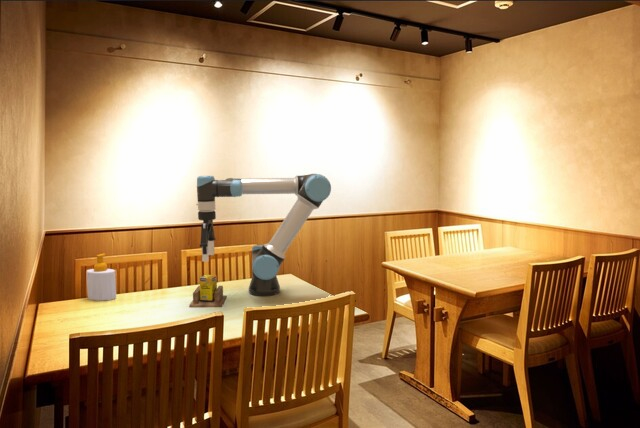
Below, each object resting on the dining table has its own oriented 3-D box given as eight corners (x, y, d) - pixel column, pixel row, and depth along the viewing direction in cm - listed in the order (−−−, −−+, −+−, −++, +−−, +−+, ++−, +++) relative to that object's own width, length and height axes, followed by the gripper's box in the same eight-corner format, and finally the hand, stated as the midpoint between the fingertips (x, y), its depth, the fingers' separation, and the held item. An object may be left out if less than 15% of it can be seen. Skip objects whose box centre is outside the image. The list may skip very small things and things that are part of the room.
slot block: (226, 297, 219) (226, 284, 218) (221, 306, 205) (221, 293, 204) (196, 297, 218) (195, 285, 217) (189, 307, 204) (189, 293, 204)
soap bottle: (120, 296, 219) (118, 253, 217) (109, 301, 211) (107, 257, 209) (94, 295, 221) (92, 252, 219) (83, 300, 213) (80, 256, 211)
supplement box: (212, 302, 208) (212, 278, 207) (199, 301, 209) (199, 277, 208) (217, 298, 214) (217, 275, 213) (205, 297, 215) (204, 274, 213)
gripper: (203, 207, 219) (205, 252, 221) (191, 214, 194) (193, 264, 197) (219, 207, 219) (221, 252, 222) (210, 214, 194) (211, 264, 197)
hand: (208, 258), depth 209 cm, fingers open, 13 cm apart
